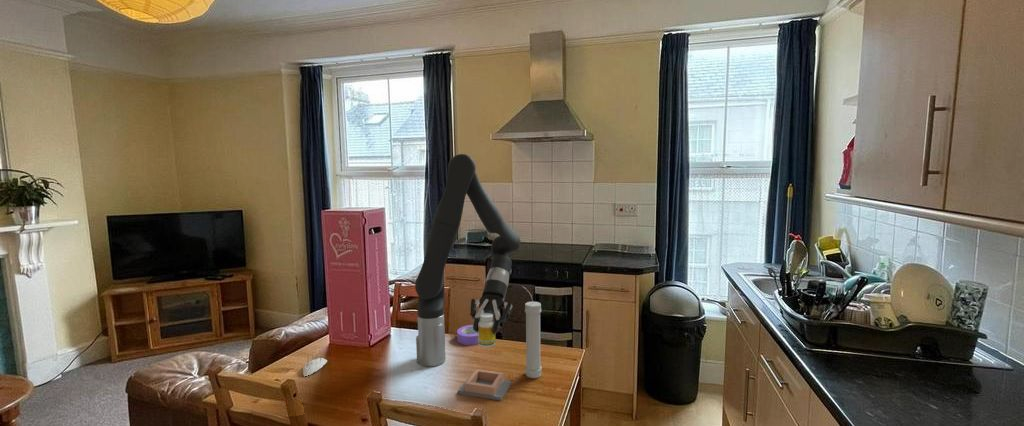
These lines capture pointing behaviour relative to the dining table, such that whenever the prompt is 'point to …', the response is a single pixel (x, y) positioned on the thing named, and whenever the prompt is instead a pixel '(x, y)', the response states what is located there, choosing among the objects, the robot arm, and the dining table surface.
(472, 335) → the masking tape
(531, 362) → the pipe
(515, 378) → the dining table surface
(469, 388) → the holder
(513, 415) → the dining table surface
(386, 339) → the dining table surface
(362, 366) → the dining table surface
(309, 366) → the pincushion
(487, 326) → the supplement bottle
